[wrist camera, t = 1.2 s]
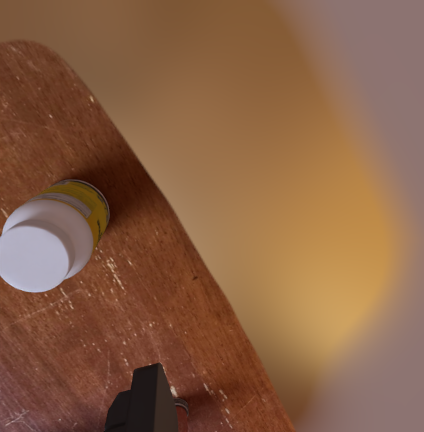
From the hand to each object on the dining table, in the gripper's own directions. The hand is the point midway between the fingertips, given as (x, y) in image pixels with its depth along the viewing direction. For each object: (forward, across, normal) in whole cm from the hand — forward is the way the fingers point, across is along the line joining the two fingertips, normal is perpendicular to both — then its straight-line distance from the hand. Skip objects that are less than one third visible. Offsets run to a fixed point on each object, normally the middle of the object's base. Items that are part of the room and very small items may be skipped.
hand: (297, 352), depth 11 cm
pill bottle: (+24, +13, 0) cm, 28 cm away
